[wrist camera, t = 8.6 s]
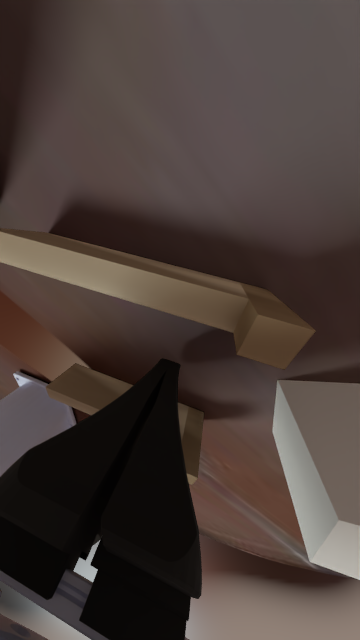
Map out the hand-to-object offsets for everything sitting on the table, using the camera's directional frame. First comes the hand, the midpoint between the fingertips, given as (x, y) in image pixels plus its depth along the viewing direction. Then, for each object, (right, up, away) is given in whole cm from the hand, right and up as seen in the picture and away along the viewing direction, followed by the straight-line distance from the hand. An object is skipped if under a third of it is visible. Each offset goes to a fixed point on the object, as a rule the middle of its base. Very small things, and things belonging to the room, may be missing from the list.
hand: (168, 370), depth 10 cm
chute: (-2, +2, +2) cm, 3 cm away
